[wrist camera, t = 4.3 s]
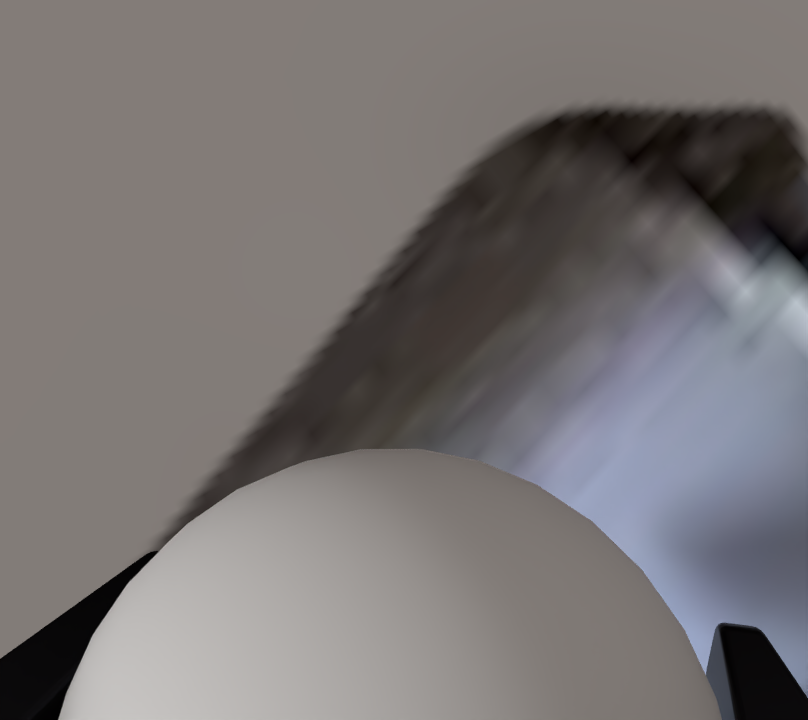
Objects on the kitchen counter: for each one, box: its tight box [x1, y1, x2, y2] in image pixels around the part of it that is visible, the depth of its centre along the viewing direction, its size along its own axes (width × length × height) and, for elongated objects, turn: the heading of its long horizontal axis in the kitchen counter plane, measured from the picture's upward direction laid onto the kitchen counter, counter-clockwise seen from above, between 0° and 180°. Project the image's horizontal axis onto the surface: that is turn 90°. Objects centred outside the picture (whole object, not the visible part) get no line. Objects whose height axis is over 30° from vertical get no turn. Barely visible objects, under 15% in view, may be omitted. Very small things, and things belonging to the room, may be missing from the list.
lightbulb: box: [58, 449, 722, 720], centre depth 10 cm, size 6×6×11 cm
